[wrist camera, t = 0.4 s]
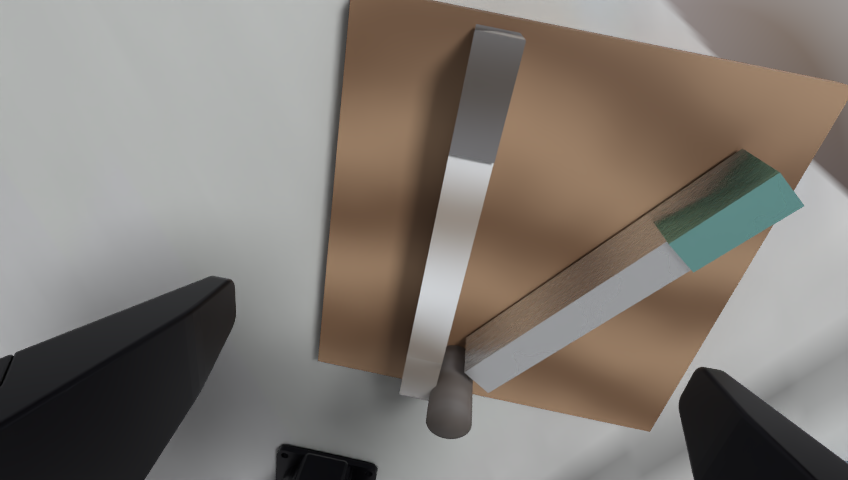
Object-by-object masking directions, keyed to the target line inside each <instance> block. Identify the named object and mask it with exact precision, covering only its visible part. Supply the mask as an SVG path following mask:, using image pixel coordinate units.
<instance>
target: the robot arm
mask: <svg viewBox="0 0 848 480" xmlns="http://www.w3.org/2000/svg"><path fill="white" fill-rule="evenodd" d="M235 318H236V303H235V285H234V282H233V281H232V280H231V279H227V278H222V277H216V276H210V277H207V278H205V279H202V280H199V281H197V282H194V283H192V284H189V285H187V286H184V287H182V288H179V289H177V290H174V291H171V292H169V293H166V294H164V295H161V296H159V297H156V298H154V299H151V300H148V301H146V302H143V303H141V304H138V305H136V306H133V307H131V308H128V309H125V310H123V311H120V312H118V313H115V314H113V315H110V316H108V317H105V318H102V319H100V320H97V321H95V322H92V323H90V324H87V325H85V326H82V327H79V328H77V329H74V330H72V331H69V332H67V333H64V334H62V335H59V336H56V337H54V338H51V339H49V340H46V341H44V342H41V343H39V344H36V345H33V346H31V347H28V348H26V349H23V350H21V351H18V352H16V353H15V354H14V356H13V355H8V356H5V357H3V358H0V480H144V479H145V478H146V476H147V475H148V473H149V472H150V470H151V469H152V467H153V465H154V464H155V462H156V461H157V459H158V458H159V456H160V455H161V453H162V451H163V450H164V448H165V447H166V445H167V444H168V442H169V441H170V439H171V437H172V436H173V434H174V433H175V431H176V430H177V428H178V426H179V425H180V423H181V422H182V420H183V419H184V417H185V416H186V414H187V412H188V411H189V409H190V408H191V406H192V405H193V403H194V401H195V400H196V398H197V397H198V395H199V393H200V392H201V390H202V388H203V386H204V384H205V382H206V380H207V378H208V376H209V374H210V372H211V370H212V368H213V366H214V364H215V362H216V360H217V358H218V356H219V354H220V352H221V350H222V348H223V346H224V344H225V342H226V340H227V337H228V335H229V333H230V331H231V329H232V327H233V325H234V322H235ZM679 413H680V417H681V422H682V427H683V431H684V436H685V441H686V445H687V450H688V454H689V459H690V464H691V468H692V473H693V477H694V480H848V463H846V462H845V461H844V460H842V459H841V458H840V457H838V456H837V455H836V454H834V453H833V452H832V451H830V450H829V449H827V448H826V447H825V446H823V445H822V444H821V443H819V442H818V441H817V440H815V439H814V438H813V437H811V436H810V435H809V434H807V433H806V432H805V431H803V430H802V429H801V428H799V427H798V426H797V425H795V424H794V423H793V422H791V421H790V420H788V419H787V418H786V417H784V416H783V415H782V414H780V413H779V412H778V411H776V410H775V409H774V408H772V407H771V406H770V405H768V404H767V403H766V402H764V401H763V400H762V399H760V398H759V397H758V396H756V395H755V394H754V393H752V392H751V391H750V390H748V389H747V388H745V387H744V386H743V385H741V384H740V383H739V382H737V381H736V380H735V379H733V378H732V377H731V376H729V375H728V374H727V373H725V372H724V371H721V370H717V369H712V368H706V367H700V368H698V369H696V370H695V372H694V373H693V375H692V377H691V378H690V380H689V382H688V384H687V386H686V388H685V389H684V391H683V393H682V395H681V397H680V400H679ZM377 471H378V468H377V467H376V466H375V465H374V464H371V463H367V462H362V461H358V460H353V459H348V458H344V457H339V456H335V455H330V454H325V453H321V452H316V451H311V450H307V449H302V448H298V447H293V446H288V445H282V446H281V447H280V448H279V450H278V453H277V469H276V480H376V476H377Z"/></svg>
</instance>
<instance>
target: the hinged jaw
mask: <svg viewBox="0 0 848 480" xmlns="http://www.w3.org/2000/svg"><path fill="white" fill-rule="evenodd" d="M803 206H804V205H803V203H802V202H801V201H800V199H799V198H798V197H797V195H796V194H795V192H794V191H793V190H792V188H791V187H790V186H789V184H788V183H787V181H786V180H785V179H784V177H783V176H782V175H781V173H780V172H778V171H777V170H775V169H774V168H772V167H771V166H769V165H767V164H766V163H764V162H763V161H761V160H760V159H758V158H757V157H755V156H753V155H752V154H750V153H749V152H747V151H746V150H744V149H741V150H740V151H738V152H737V153H735V154H734V155H732V156H731V157H729V158H728V159H727V160H725V161H724V162H722V163H721V164H719V165H718V166H716V167H715V168H713V169H712V170H710V171H709V172H708V173H706V174H705V175H703V176H702V177H700V178H699V179H697V180H696V181H694V182H693V183H691V184H690V185H689V186H687V187H686V188H684V189H683V190H681V191H680V192H678V193H677V194H675V195H674V196H672V197H671V198H670V199H668V200H667V201H665V202H664V203H662V204H661V205H659V206H658V207H656V208H655V209H654V210H652V211H651V212H649V213H648V214H646V215H645V216H643V217H642V218H640V219H639V220H637V221H636V222H635V223H633V224H632V225H630V226H629V227H627V228H626V229H624V230H623V231H621V232H620V233H618V234H617V235H616V236H614V237H613V238H611V239H610V240H608V241H607V242H605V243H604V244H602V245H601V246H599V247H598V248H597V249H595V250H594V251H592V252H591V253H589V254H588V255H586V256H585V257H583V258H582V259H580V260H579V261H578V262H576V263H575V264H573V265H572V266H570V267H569V268H567V269H566V270H564V271H563V272H561V273H560V274H559V275H557V276H556V277H554V278H553V279H551V280H550V281H548V282H547V283H545V284H544V285H543V286H541V287H540V288H538V289H537V290H535V291H534V292H532V293H531V294H529V295H528V296H526V297H525V298H524V299H522V300H521V301H519V302H518V303H516V304H515V305H513V306H512V307H510V308H509V309H507V310H506V311H505V312H503V313H502V314H500V315H499V316H497V317H496V318H494V319H493V320H491V321H490V322H488V323H487V324H486V325H484V326H483V327H481V328H480V329H478V330H477V331H475V332H474V333H472V334H471V335H469V336H468V337H467V338H466V350H465V368H464V373H465V374H467V375H468V376H469V377H470V378H471V379H472V380H474V381H475V382H476V383H477V384H478V385H479V386H480V387H482V388H483V389H484V390H485V391H486V392H487V393H489V392H491V391H493V390H494V389H496V388H497V387H499V386H501V385H502V384H504V383H506V382H507V381H509V380H511V379H512V378H514V377H516V376H517V375H519V374H521V373H522V372H524V371H525V370H527V369H529V368H530V367H532V366H534V365H535V364H537V363H539V362H540V361H542V360H544V359H545V358H547V357H549V356H550V355H552V354H554V353H555V352H557V351H558V350H560V349H562V348H563V347H565V346H567V345H568V344H570V343H572V342H573V341H575V340H577V339H578V338H580V337H582V336H583V335H585V334H586V333H588V332H590V331H591V330H593V329H595V328H596V327H598V326H600V325H601V324H603V323H605V322H606V321H608V320H610V319H611V318H613V317H615V316H616V315H618V314H619V313H621V312H623V311H624V310H626V309H628V308H629V307H631V306H633V305H634V304H636V303H638V302H639V301H641V300H643V299H644V298H646V297H647V296H649V295H651V294H652V293H654V292H656V291H657V290H659V289H661V288H662V287H664V286H666V285H667V284H669V283H671V282H672V281H674V280H676V279H677V278H679V277H680V276H682V275H684V274H685V273H687V272H689V271H690V270H692V272H693V273H694V272H695V271H697V270H699V269H700V268H702V267H704V266H705V265H707V264H709V263H710V262H712V261H714V260H715V259H717V258H719V257H720V256H722V255H724V254H725V253H727V252H729V251H730V250H732V249H734V248H735V247H737V246H739V245H740V244H742V243H744V242H745V241H747V240H749V239H750V238H752V237H754V236H755V235H757V234H758V233H760V232H762V231H763V230H765V229H767V228H768V227H770V226H772V225H773V224H775V223H777V222H778V221H780V220H782V219H783V218H785V217H787V216H788V215H790V214H792V213H793V212H795V211H797V210H798V209H800V208H802V207H803Z"/></svg>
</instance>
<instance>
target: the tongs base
mask: <svg viewBox="0 0 848 480" xmlns="http://www.w3.org/2000/svg"><path fill="white" fill-rule="evenodd" d="M847 100H848V85H846V84H843V83H839V82H835V81H831V80H826V79H821V78H816V77H811V76H806V75H801V74H796V73H791V72H786V71H781V70H776V69H771V68H766V67H762V66H757V65H751V64H746V63H742V62H737V61H731V60H727V59H722V58H717V57H712V56H707V55H702V54H697V53H692V52H687V51H682V50H677V49H672V48H667V47H662V46H657V45H652V44H647V43H642V42H637V41H632V40H627V39H622V38H617V37H612V36H607V35H602V34H597V33H592V32H587V31H582V30H577V29H572V28H567V27H562V26H557V25H552V24H547V23H542V22H538V21H533V20H528V19H523V18H518V17H513V16H508V15H503V14H498V13H493V12H488V11H483V10H478V9H473V8H468V7H463V6H458V5H453V4H448V3H443V2H438V1H433V0H350V8H349V19H348V30H347V41H346V53H345V64H344V75H343V86H342V98H341V109H340V120H339V131H338V143H337V154H336V165H335V176H334V187H333V199H332V210H331V221H330V232H329V244H328V255H327V266H326V277H325V289H324V300H323V311H322V322H321V333H320V345H319V356H318V361H321V362H325V363H330V364H335V365H340V366H344V367H349V368H354V369H358V370H363V371H368V372H372V373H377V374H382V375H386V376H391V377H396V378H400V379H402V382H401V387H400V392H399V394H400V395H405V396H409V397H414V398H419V399H423V400H428V401H429V403H428V410H427V417H426V424H427V427H428V429H429V430H430V431H431V432H432V433H433V434H435V435H437V436H439V437H442V438H446V439H456V438H460V437H463V436H465V435H466V434H467V433H468V432H469V431H470V429H471V425H472V394H476V395H480V396H485V397H490V398H494V399H499V400H504V401H508V402H513V403H518V404H522V405H527V406H532V407H537V408H541V409H546V410H551V411H555V412H560V413H565V414H569V415H574V416H579V417H583V418H588V419H593V420H597V421H602V422H607V423H612V424H616V425H621V426H626V427H630V428H635V429H640V430H644V431H649V432H650V431H651V429H652V427H653V426H654V424H655V422H656V421H657V419H658V417H659V416H660V414H661V412H662V411H663V409H664V407H665V406H666V404H667V402H668V400H669V399H670V397H671V395H672V394H673V392H674V390H675V389H676V387H677V385H678V384H679V382H680V380H681V379H682V377H683V375H684V374H685V372H686V370H687V369H688V367H689V365H690V364H691V362H692V360H693V359H694V357H695V355H696V354H697V352H698V350H699V349H700V347H701V345H702V343H703V342H704V340H705V338H706V337H707V335H708V333H709V332H710V330H711V328H712V327H713V325H714V323H715V322H716V320H717V318H718V317H719V315H720V313H721V312H722V310H723V308H724V307H725V305H726V303H727V302H728V300H729V298H730V297H731V295H732V293H733V292H734V290H735V288H736V287H737V285H738V283H739V281H740V280H741V278H742V276H743V275H744V273H745V271H746V270H747V268H748V266H749V265H750V263H751V261H752V260H753V258H754V256H755V255H756V253H757V251H758V250H759V248H760V246H761V245H762V243H763V241H764V240H765V238H766V236H767V235H768V233H769V231H770V230H771V228H772V226H773V225H774V224H773V225H772V226H770V227H768V228H767V229H765V230H763V231H762V232H760V233H758V234H757V235H755V236H754V237H752V238H750V239H749V240H747V241H745V242H744V243H742V244H740V245H739V246H737V247H735V248H734V249H732V250H730V251H729V252H727V253H725V254H724V255H722V256H720V257H719V258H717V259H715V260H714V261H712V262H710V263H709V264H707V265H705V266H704V267H702V268H700V269H699V270H697V271H695V272H694V273H693V272H692V270H690V271H689V272H687V273H685V274H684V275H682V276H680V277H679V278H677V279H676V280H674V281H672V282H671V283H669V284H667V285H666V286H664V287H662V288H661V289H659V290H657V291H656V292H654V293H652V294H651V295H649V296H647V297H646V298H644V299H643V300H641V301H639V302H638V303H636V304H634V305H633V306H631V307H629V308H628V309H626V310H624V311H623V312H621V313H619V314H618V315H616V316H615V317H613V318H611V319H610V320H608V321H606V322H605V323H603V324H601V325H600V326H598V327H596V328H595V329H593V330H591V331H590V332H588V333H586V334H585V335H583V336H582V337H580V338H578V339H577V340H575V341H573V342H572V343H570V344H568V345H567V346H565V347H563V348H562V349H560V350H558V351H557V352H555V353H554V354H552V355H550V356H549V357H547V358H545V359H544V360H542V361H540V362H539V363H537V364H535V365H534V366H532V367H530V368H529V369H527V370H525V371H524V372H522V373H521V374H519V375H517V376H516V377H514V378H512V379H511V380H509V381H507V382H506V383H504V384H502V385H501V386H499V387H497V388H496V389H494V390H493V391H491V392H489V393H487V392H486V391H485V390H484V389H483V388H482V387H480V386H479V385H478V384H477V383H476V382H475V381H474V380H472V379H471V378H470V377H469V376H468V375H467V374H465V373H464V368H465V350H466V338H467V337H468V336H469V335H471V334H472V333H474V332H475V331H477V330H478V329H480V328H481V327H483V326H484V325H486V324H487V323H488V322H490V321H491V320H493V319H494V318H496V317H497V316H499V315H500V314H502V313H503V312H505V311H506V310H507V309H509V308H510V307H512V306H513V305H515V304H516V303H518V302H519V301H521V300H522V299H524V298H525V297H526V296H528V295H529V294H531V293H532V292H534V291H535V290H537V289H538V288H540V287H541V286H543V285H544V284H545V283H547V282H548V281H550V280H551V279H553V278H554V277H556V276H557V275H559V274H560V273H561V272H563V271H564V270H566V269H567V268H569V267H570V266H572V265H573V264H575V263H576V262H578V261H579V260H580V259H582V258H583V257H585V256H586V255H588V254H589V253H591V252H592V251H594V250H595V249H597V248H598V247H599V246H601V245H602V244H604V243H605V242H607V241H608V240H610V239H611V238H613V237H614V236H616V235H617V234H618V233H620V232H621V231H623V230H624V229H626V228H627V227H629V226H630V225H632V224H633V223H635V222H636V221H637V220H639V219H640V218H642V217H643V216H645V215H646V214H648V213H649V212H651V211H652V210H654V209H655V208H656V207H658V206H659V205H661V204H662V203H664V202H665V201H667V200H668V199H670V198H671V197H672V196H674V195H675V194H677V193H678V192H680V191H681V190H683V189H684V188H686V187H687V186H689V185H690V184H691V183H693V182H694V181H696V180H697V179H699V178H700V177H702V176H703V175H705V174H706V173H708V172H709V171H710V170H712V169H713V168H715V167H716V166H718V165H719V164H721V163H722V162H724V161H725V160H727V159H728V158H729V157H731V156H732V155H734V154H735V153H737V152H738V151H740V150H741V149H744V150H746V151H747V152H749V153H750V154H752V155H753V156H755V157H757V158H758V159H760V160H761V161H763V162H764V163H766V164H767V165H769V166H771V167H772V168H774V169H775V170H777V171H778V172H780V173H781V175H782V176H783V177H784V179H785V180H786V181H787V183H788V184H789V186H790V187H791V188H792V190H793V191H794V189H795V188H796V186H797V184H798V183H799V181H800V179H801V178H802V176H803V174H804V173H805V171H806V169H807V168H808V166H809V164H810V163H811V161H812V159H813V157H814V156H815V154H816V152H817V151H818V149H819V147H820V146H821V144H822V142H823V141H824V139H825V137H826V136H827V134H828V132H829V131H830V129H831V127H832V125H833V124H834V122H835V121H836V119H837V117H838V116H839V114H840V112H841V110H842V109H843V107H844V106H845V104H846V102H847Z"/></svg>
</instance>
